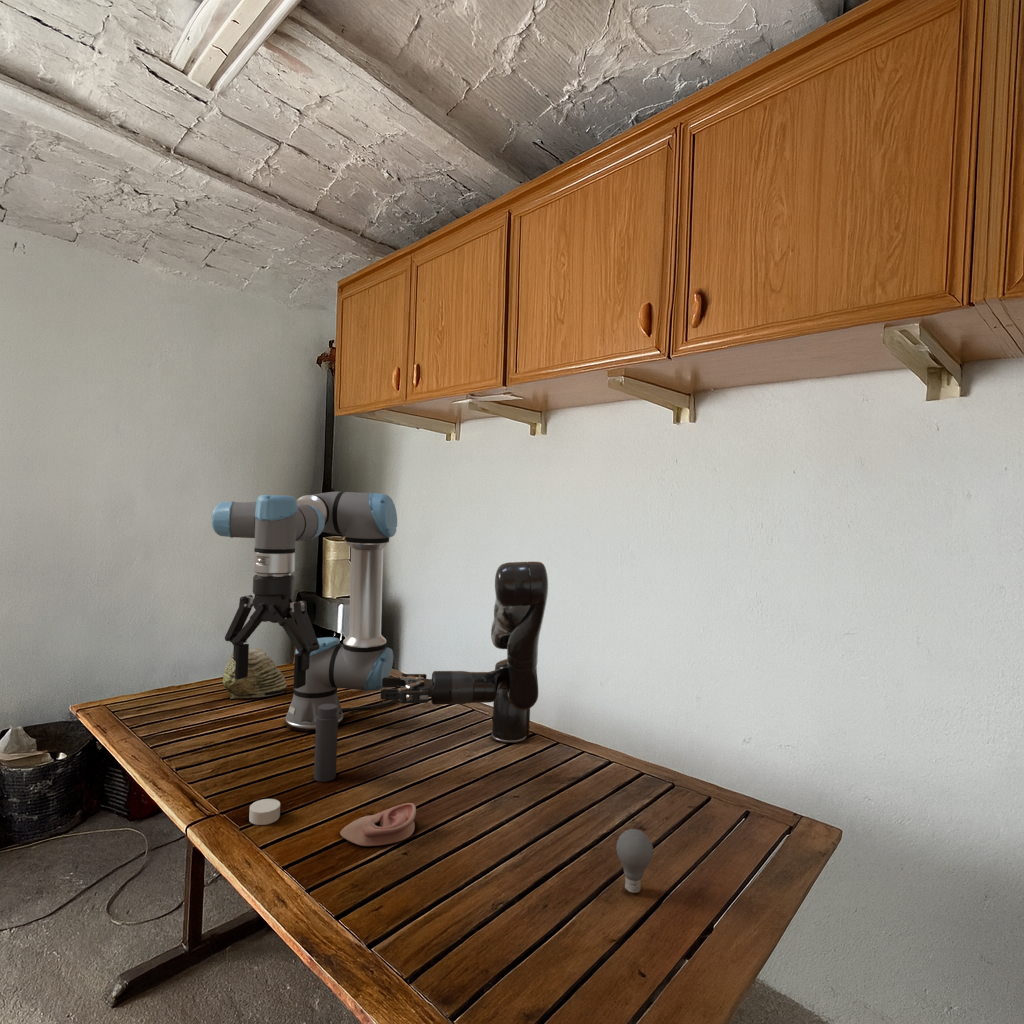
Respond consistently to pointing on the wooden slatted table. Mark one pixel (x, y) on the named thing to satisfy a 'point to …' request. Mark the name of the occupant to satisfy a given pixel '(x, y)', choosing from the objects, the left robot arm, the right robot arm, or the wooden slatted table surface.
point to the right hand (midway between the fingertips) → (381, 688)
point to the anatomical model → (382, 826)
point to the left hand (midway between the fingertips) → (269, 682)
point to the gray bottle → (326, 743)
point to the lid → (264, 811)
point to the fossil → (255, 677)
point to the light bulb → (634, 857)
